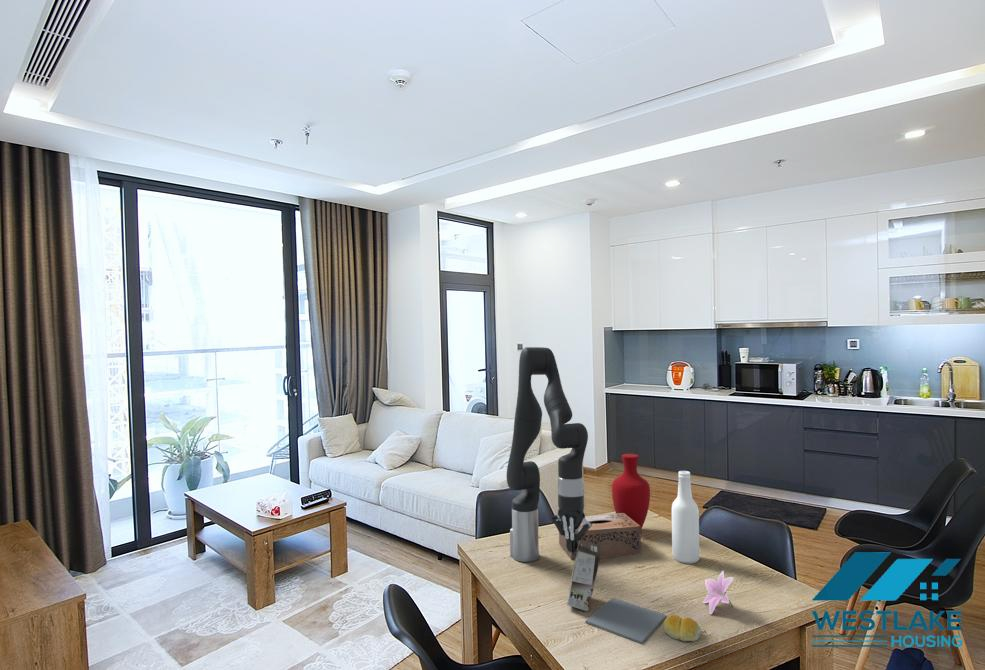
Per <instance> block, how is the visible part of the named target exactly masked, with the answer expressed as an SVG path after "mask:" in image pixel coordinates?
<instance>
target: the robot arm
mask: <svg viewBox="0 0 985 670" xmlns="http://www.w3.org/2000/svg"><path fill="white" fill-rule="evenodd" d="M520 351H521V352H520V354H519V360H518V361H519V362H518V383H517V384H518V385H517V386H518V388H517V389H518V390H517V397H516V406H515V413H514V423H513V434H512V443H511V448H510V453H509V457H508V462H507V467H506V484H507V486H508V488H509V489H510V490H512V491H521V493H519V494H518V495H516V496H515V497H514V498H513V499H512V501H511V528H510V529H509V545H510V547H509V549H510V553H509V556H510V557H512V558H513V559H514V560H516V561H517V562H523V563H524V562H525V563H528V562H529V563H530V562H535V561H537V559H539V557H540V554H539V553H540V550H539V549H540V548H539V543H540V542H539V541H540V540H539V503H540V491H541V490H540V487H541V486H540V485H541V473H540V468H539V467H538V465H537V463H536V462H534V461H531V460H529V461H525V457H526V455H527V452H528V451H529V449H530V447H531V446H532V445H533V443H534V442H535V441H536V440H537V438H538V436H539V434H540V431H541V426H542V420H543V411H542V407H541V405H540V403H539V401H538V399H537V396H536V395H535V393H534V391H533V387H532V376H534V375H535V376H538V375H539V376H544V375H545V376H546V378H547V385H546V388H545V392H544V393H543V394H544V395H543V404H544V407H545V410H546V412H547V415H548V417H549V422H550V429H551V430H550V431H551V442H552V444H553V445H554V446H555V447H556V448H557V449H561V450H564V449H571V450H570V452H569V453H567V454H565V455H562V456H560V457H559V458H558V462H557V464H558V468H557V473H558V480H557V503H558V504H557V507H558V510H557V513H556V514H555V515H553V516H552V517H551V520H552V522H553V524H554V526H555V527H556V529H557V531H558V534H559V533H560V534H561V535H564V536H565V537H566V547H567V549H568V552H572V553H573V552H575V551H576V550H577V540H578V539H580V538H581V537H583V536H584V535H585V534H586V532H587V531H588V530H589V529H590V527H591V526H592V523H591V522H588V521H587V520H586V519H585V516H586V515H585V513H584V510H585V489H584V486H585V485H584V477H583V473H584V472H583V462H584V457H585V453H586V448H587V444H588V440H589V434H588V433H589V432H588V430H587V428H586V426H585V425H584V424H583V423H580V422H573V423H569V422H570V421H571V420H572V419H573V411H572V408H571V406H570V404H569V401H568V399H567V397H566V395H565V392H564V389H563V385H562V381H561V376H560V373H559V368H558V363H557V361H556V357H555V355H554V353H553V351H552V349H550V348H549V347H541V346H539V347H537V346H534V347H533V346H531V347H530V346H529V347H528V346H527V347H524V348H522V350H520ZM581 523H582V529H581V530H580V531H579V526H580V525H581ZM578 531H579V532H578Z"/></svg>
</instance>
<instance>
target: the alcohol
mask: <svg viewBox="0 0 985 670" xmlns="http://www.w3.org/2000/svg"><path fill="white" fill-rule="evenodd" d="M677 473H678V475H677V476H678V484H677V496H676V497H675V499H674V501H672V503H671V550H672V554H671V555H672V557H673V559H674V560H675V561H676V562H679V563H682V564H687V565H688V564H689V565H690V564H691V565H692V564H696V563H697V562H698V561H700V518H699V517H700V515H699V513H700V512H699V507H698V503H697V502H696V501H695V500H694V498H693V495H692V494H693V493H692V485H691V483H692V481H691V472H690V471H688V470H679V471H678V472H677Z"/></svg>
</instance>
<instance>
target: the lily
mask: <svg viewBox="0 0 985 670" xmlns="http://www.w3.org/2000/svg"><path fill="white" fill-rule="evenodd" d="M720 572H721V573H720V574H719V575H718V577H717V579H713V578H706V579H705V580H704V584H705V588H706V591H707V592H708V594H707V595H706V597H705V598H704V599H703V601H702V603H703V604H707V603H708V612H709V615H710V614H711V615H712V614H713V613H714V610H715V609H716V607H717V605H718V604H719V603H724V604H730V605H731V607H732V608H734V605H733V604H732V602H731V601H730V599H729V597H728V594H727V589H728V587H730V584H731V583H732V582H733V581H734V579H735V578H734V577H733V576H729V577H725V575H724V574H725V573H724V572H725V571H724V570H722V571H720Z"/></svg>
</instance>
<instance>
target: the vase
mask: <svg viewBox="0 0 985 670" xmlns="http://www.w3.org/2000/svg"><path fill="white" fill-rule="evenodd" d="M621 459H622V463H623V464H622V465H623V472H622V473H621V475H620V476H618V477H616V478H615V479H613V481H612V483H611V496H612V504H613V507H614V511H615V514H616V513H624V514H626V515H627V516H628V517H630V518H631V519H632V520H633V521H635V522H636V523H637V524H638V525H640V526H641V530H642V529H643V526H644V524H645V521H646V519H647V515H648V512H649V507H650V501H651V487H650V484H649V482H648V480H646V479H644V477H642V476H640V474H639V473H638V462H639V454H635V453H624V454H622V455H621Z"/></svg>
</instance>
